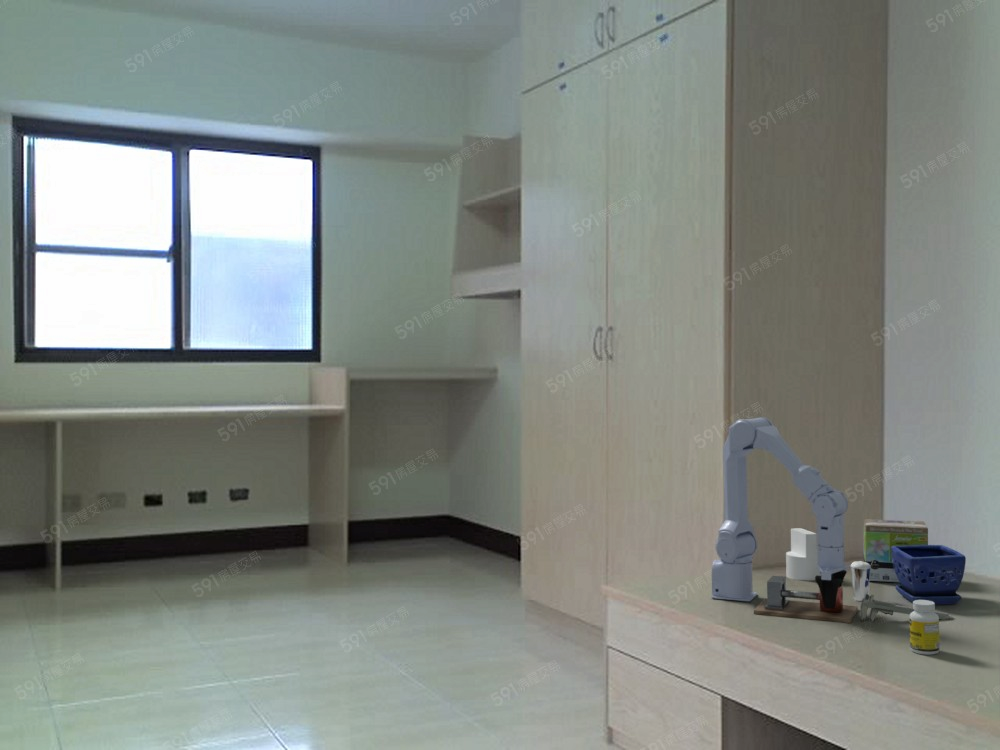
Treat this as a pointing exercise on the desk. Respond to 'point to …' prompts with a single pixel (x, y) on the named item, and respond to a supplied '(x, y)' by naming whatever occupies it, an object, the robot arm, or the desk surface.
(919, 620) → the supplement bottle
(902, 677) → the desk surface
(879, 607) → the caliper
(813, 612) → the board
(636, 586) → the desk surface
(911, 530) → the tea box
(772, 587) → the slotted metal block
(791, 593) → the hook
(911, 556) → the flower pot
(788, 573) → the base with upright slab
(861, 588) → the milkshake
